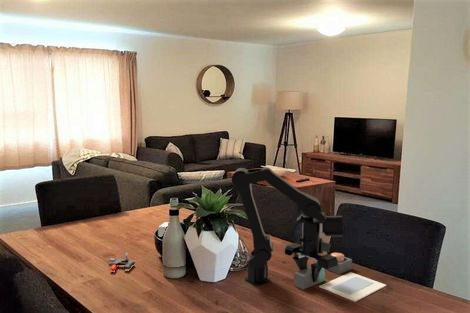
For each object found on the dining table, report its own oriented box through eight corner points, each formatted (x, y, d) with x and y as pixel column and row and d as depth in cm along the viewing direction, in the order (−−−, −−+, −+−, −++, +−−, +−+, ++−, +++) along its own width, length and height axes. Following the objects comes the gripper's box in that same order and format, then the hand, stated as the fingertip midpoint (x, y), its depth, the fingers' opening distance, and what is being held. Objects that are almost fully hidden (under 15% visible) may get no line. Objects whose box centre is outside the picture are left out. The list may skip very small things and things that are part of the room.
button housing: (339, 274, 154) (339, 264, 154) (321, 267, 160) (321, 258, 160) (352, 268, 159) (352, 259, 159) (334, 262, 165) (334, 253, 165)
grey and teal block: (303, 289, 142) (303, 276, 141) (294, 285, 145) (294, 272, 144) (324, 280, 149) (324, 268, 148) (315, 277, 152) (315, 264, 151)
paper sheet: (355, 301, 133) (355, 300, 133) (318, 286, 144) (318, 285, 144) (386, 285, 145) (386, 284, 145) (350, 273, 155) (350, 271, 155)
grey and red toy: (110, 262, 166) (110, 250, 165) (138, 266, 162) (138, 253, 161) (95, 272, 156) (94, 259, 156) (124, 276, 153) (124, 263, 152)
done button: (338, 266, 156) (338, 258, 156) (327, 262, 160) (328, 254, 159) (346, 263, 159) (346, 255, 159) (335, 259, 163) (336, 251, 163)
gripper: (348, 237, 143) (346, 282, 145) (305, 224, 157) (304, 265, 159) (327, 244, 135) (326, 291, 138) (283, 230, 150) (283, 273, 152)
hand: (309, 279), depth 147 cm, fingers closed on grey and teal block, 4 cm apart
